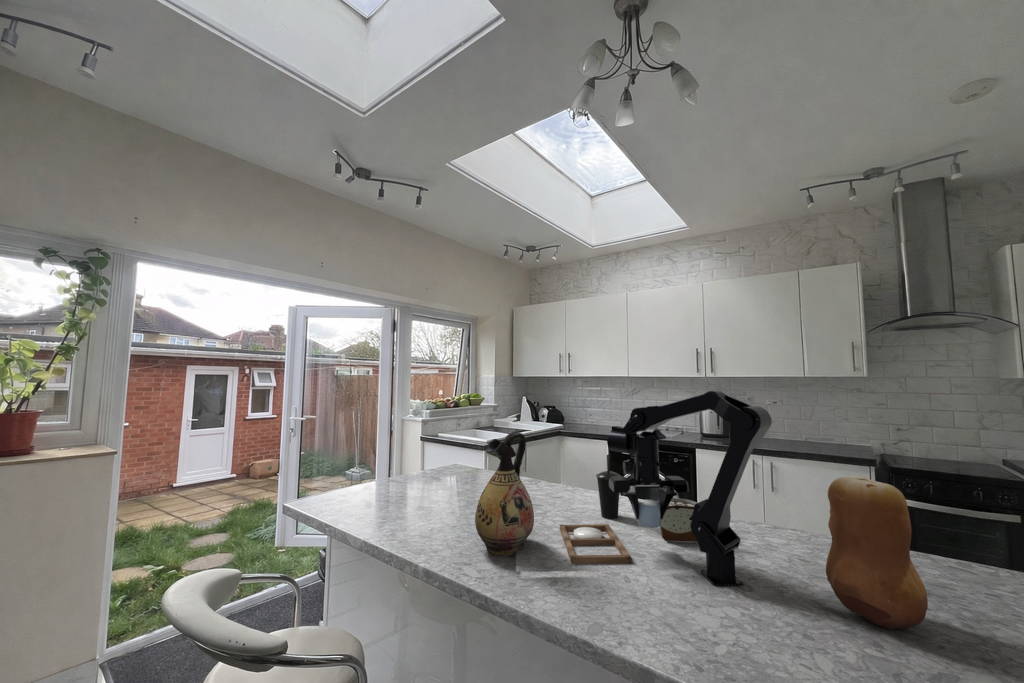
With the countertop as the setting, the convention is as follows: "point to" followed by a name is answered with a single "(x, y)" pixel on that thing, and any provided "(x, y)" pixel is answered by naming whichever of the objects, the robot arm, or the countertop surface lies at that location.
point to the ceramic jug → (505, 501)
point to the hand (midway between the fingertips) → (649, 519)
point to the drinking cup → (607, 494)
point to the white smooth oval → (587, 533)
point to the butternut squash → (873, 553)
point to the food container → (678, 521)
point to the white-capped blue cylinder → (649, 513)
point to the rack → (595, 541)
